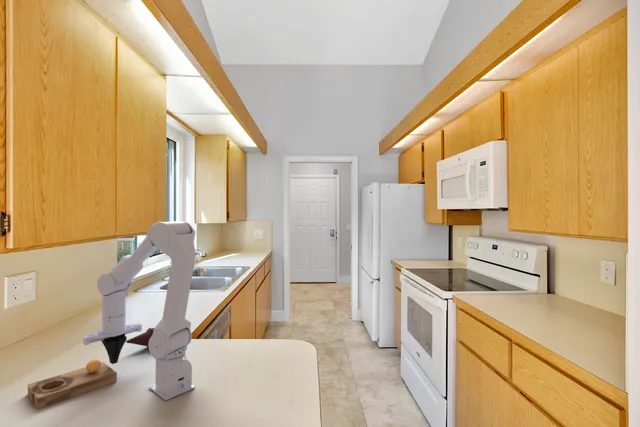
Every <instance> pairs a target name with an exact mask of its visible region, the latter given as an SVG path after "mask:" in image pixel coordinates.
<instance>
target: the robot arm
mask: <svg viewBox="0 0 640 427" xmlns="http://www.w3.org/2000/svg"><path fill="white" fill-rule="evenodd" d="M195 236H196V230H195V229H194V228H193V226H192V225H191V224H190V223H189V222H188V221H185V220H181V221H155V222H154V223H153V224H152V225H151V227H150V228H147V231H146V236H145V238H144V239H143V240H142V241H141V243H140V244H138V246H137V248H136V249H135V250H134V252H133V253H132V254H127V255H123V256H121V257H120V260H119V262H118V263H117V264H116V265H115V266H114V267H112V268H111V270H110V271H109V272H107V273H102V274H100V276H99V277H98V279H97V283H96V288H97V290H98V292H99V293H100V294H101V295H102V296H101V297H102V298H101V300H102V301H101V302H102V303H101V304H102V305H101V317H102V318H101V330H100V331H96V332H93V333H91V334H87V335H83V337H82V344H83V345H85V346H87V345H91V344H92V343H97V342H101V343H102V345H103V346H104V348H105V350H106V353H107V356H108V359H109V363H110V364H111V365H114V364H117V363H118V361H119V358H120V354H121V352H122V349H123V347H124V345H125V344H126V341H127V338H128V337H127V336H126V335H127V334H128V335H129V334H132V333H135V332H137V333H139V332H142V329H143V325H142V324H141V323H134V324H126V319H127V318H126V314H127V313H126V308H127V307H126V300H127V299H126V298H127V297H128V294H129V293H128V291H129V290H130V287H131V283H132V280H133V279H134V278H135V277H136V276H137V275H138V274H139V273H140V272H141V271H142V270H143V268H144V262H145V261H146V260H147V259H148V258H149V257H150V256H152V255H153V254H154V253H155V252H156V251H157V250H158V249H159V250H160V251H161V252H162V253H164V255H166V256H168V257H169V259H171V265H170V271H169V277H168V283H167V288H166V295H165V300H164V307H163V312H162V318H161V320H160V321H159V322H158V323H157V324H156V325H155V326H154V327H153V328H154V332H153V335H152V336H151V338H150V340H149V344H148V346H149V348H148V351H149V353H150V354H151V356H152V357H153V359H155V383H153V384H150V385H149V386H148V388H149V389H150V390H151V391H153V392H154V393H155V394H157V395H158V396H159V397H161V398H162V399H163V400H164V401H167V400H168V401H169V400H170V399H172V398H174V397H177V396H179V395H182V394H184V393H186V392H188V391H191V390H194V389H195V387H196V386H195V385H193V383H192V381H193V380H192V379H193V377H192V376H193V375H192V374H193V371H192V370H193V367H192V363H191V361H190V360H188V358H187V355H186V351H187V350H188V346H189V345H190V344H191V341H192V338H193V337H192V336H193V335H192V332H191V331H192V330H191V327H192V322H191V321H190V320H189V319H187V318H186V315H187V310H188V304H189V298H190V292H191V291H190V290H191V285H192V280H193V272H194V266H195V262H196V248H195V243H194V242H195V238H196V237H195Z"/></svg>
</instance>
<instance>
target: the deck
mask: <svg viewBox="0 0 640 427" xmlns="http://www.w3.org/2000/svg"><path fill="white" fill-rule="evenodd" d="M117 373H118V372H117V371H116V370H114V368H111V367H110V366H109V365H108V364H107V363H105V362H104V361H101V367H100V369H99V370H98V371H97V372H94V373H90V372H88V371H87V370H86V366H85V367H82V368H77V369H75V370H72V371H69V372H66V373H62V374H58V375H55V376H51V377H48V378H45V379H42V380H38V381H36V382H35V381H34V382H32V383H28V384H27V396H29V402H31V404H32V405H34V406H35V408H36V409H37V410H39V409H43V408H45V407H48V406H51V405H53V404H56V403H57V404H58V403H60V402H62V401H65V400H68V399H71V398H73V397H74V398H75V397H76V396H77V397H78V396H79V395H82V394H85V393H88V392H91V391H94V390H98V389H99V388H102V387H105V386H108V385H111V384H115V383H116V382H117V381H118V377H117V376H118V374H117Z"/></svg>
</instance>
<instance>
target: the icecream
mask: <svg viewBox="0 0 640 427" xmlns="http://www.w3.org/2000/svg"><path fill="white" fill-rule="evenodd" d="M154 328H155V327H152V328H151V327H149V328H148V329H147V330H146V331H145V332H143V333H140V334H138V335H136V336H134V337H132V338H129V339H128V340H126V342H125V344H126V343H127V344H132V345H137V346H143V347H146V348H147V349H149V346H148V344H149V340H150V338H151V336H152V335H153V332H154Z"/></svg>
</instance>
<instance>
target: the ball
mask: <svg viewBox="0 0 640 427" xmlns="http://www.w3.org/2000/svg"><path fill="white" fill-rule="evenodd" d="M101 363H102V361H100V360H99V359H96V358H94V359H91V360H89V361H88V362H87V363H86V366H85V367H86V370H87V371H88V372H90V373H94V372H97V371H98V370H99V369H100V367H101Z"/></svg>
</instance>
